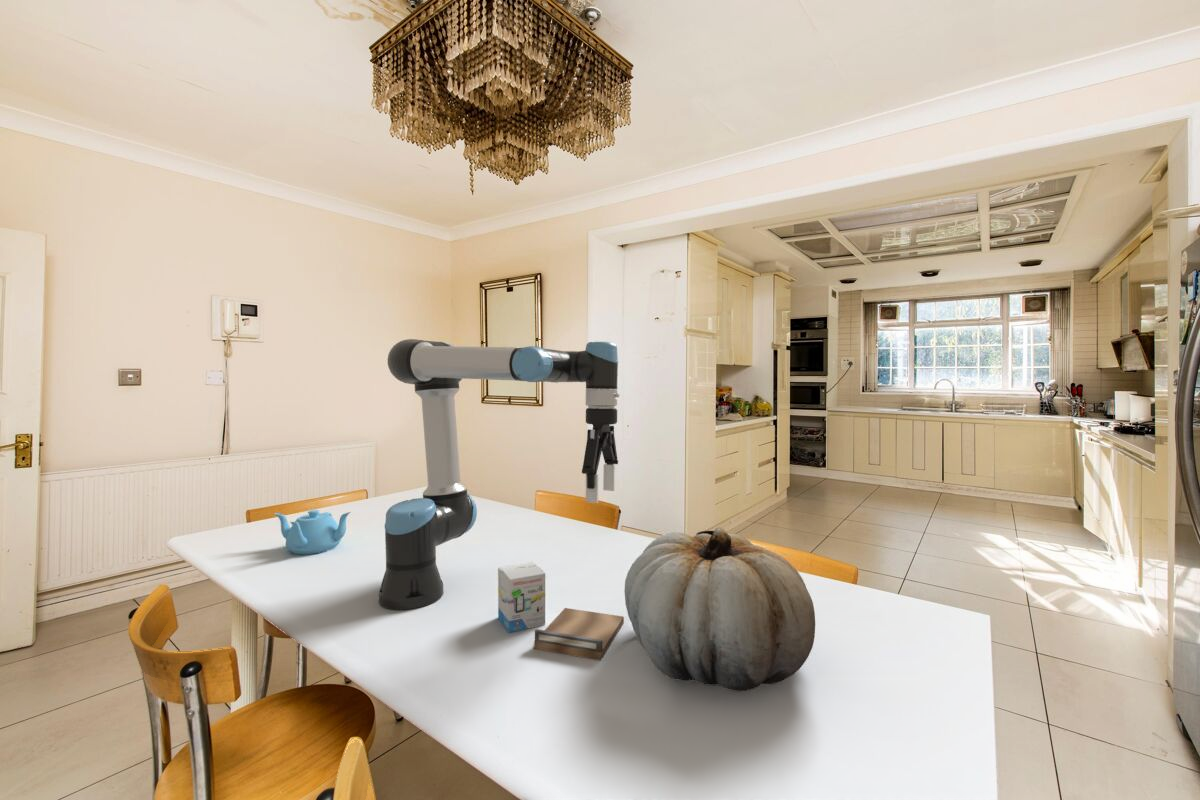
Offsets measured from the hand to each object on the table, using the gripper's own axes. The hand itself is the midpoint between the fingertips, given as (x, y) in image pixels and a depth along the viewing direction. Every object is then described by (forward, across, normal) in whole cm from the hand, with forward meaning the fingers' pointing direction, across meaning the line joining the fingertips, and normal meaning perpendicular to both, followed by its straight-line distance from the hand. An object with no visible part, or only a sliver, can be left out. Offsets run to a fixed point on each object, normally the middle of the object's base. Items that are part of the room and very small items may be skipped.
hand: (600, 496), depth 121 cm
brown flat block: (+26, -16, -1) cm, 31 cm away
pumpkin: (+26, -15, -28) cm, 41 cm away
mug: (+26, +34, -25) cm, 49 cm away
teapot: (+27, +12, +102) cm, 106 cm away
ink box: (+26, -14, +14) cm, 33 cm away
